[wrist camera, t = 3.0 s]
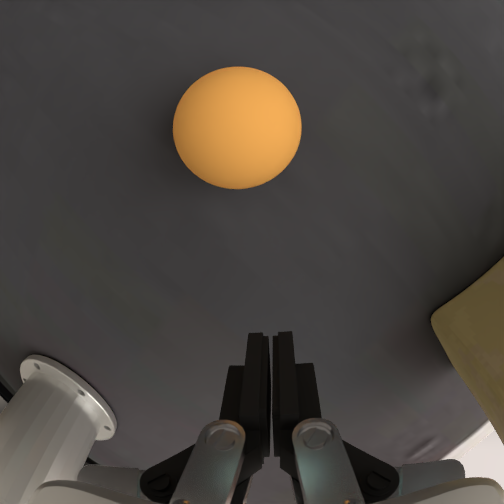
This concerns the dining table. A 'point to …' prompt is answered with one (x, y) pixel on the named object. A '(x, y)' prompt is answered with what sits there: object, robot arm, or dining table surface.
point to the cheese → (478, 340)
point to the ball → (237, 127)
